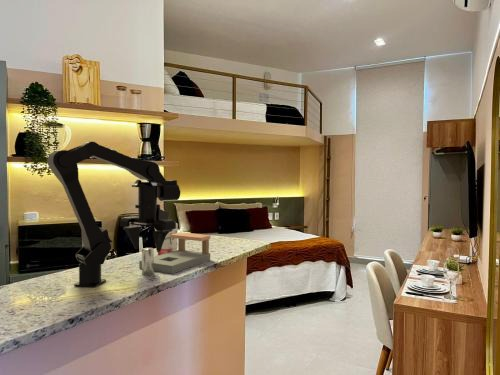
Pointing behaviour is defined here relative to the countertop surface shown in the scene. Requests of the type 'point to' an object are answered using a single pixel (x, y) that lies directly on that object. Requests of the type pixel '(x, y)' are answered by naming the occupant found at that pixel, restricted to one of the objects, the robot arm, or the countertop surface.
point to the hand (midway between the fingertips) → (147, 250)
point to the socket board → (182, 254)
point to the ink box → (169, 243)
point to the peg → (147, 261)
